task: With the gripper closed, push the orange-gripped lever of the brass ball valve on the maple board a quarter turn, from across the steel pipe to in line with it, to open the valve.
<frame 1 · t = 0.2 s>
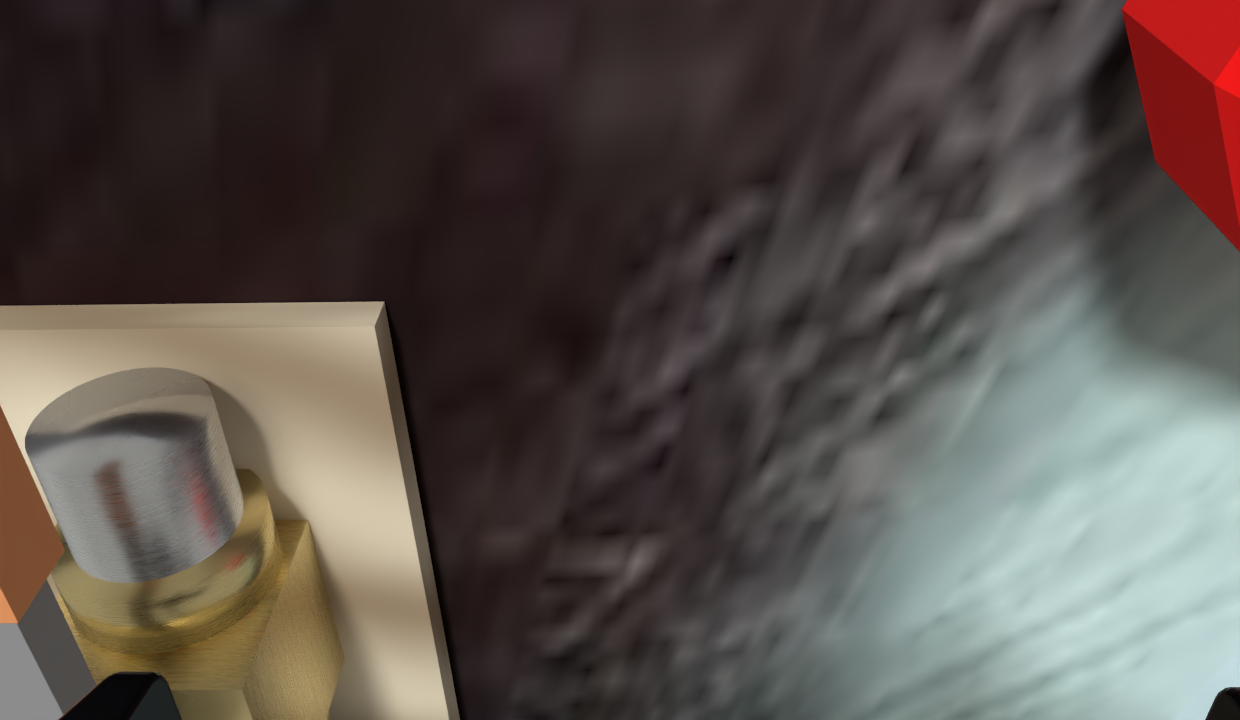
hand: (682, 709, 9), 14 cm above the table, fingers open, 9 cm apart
valve lever: (22, 663, 18), point 8 cm above the table, hinge at 0.0°
valve: (242, 564, 28), resting on valve board
valve board: (242, 564, 28), on the table
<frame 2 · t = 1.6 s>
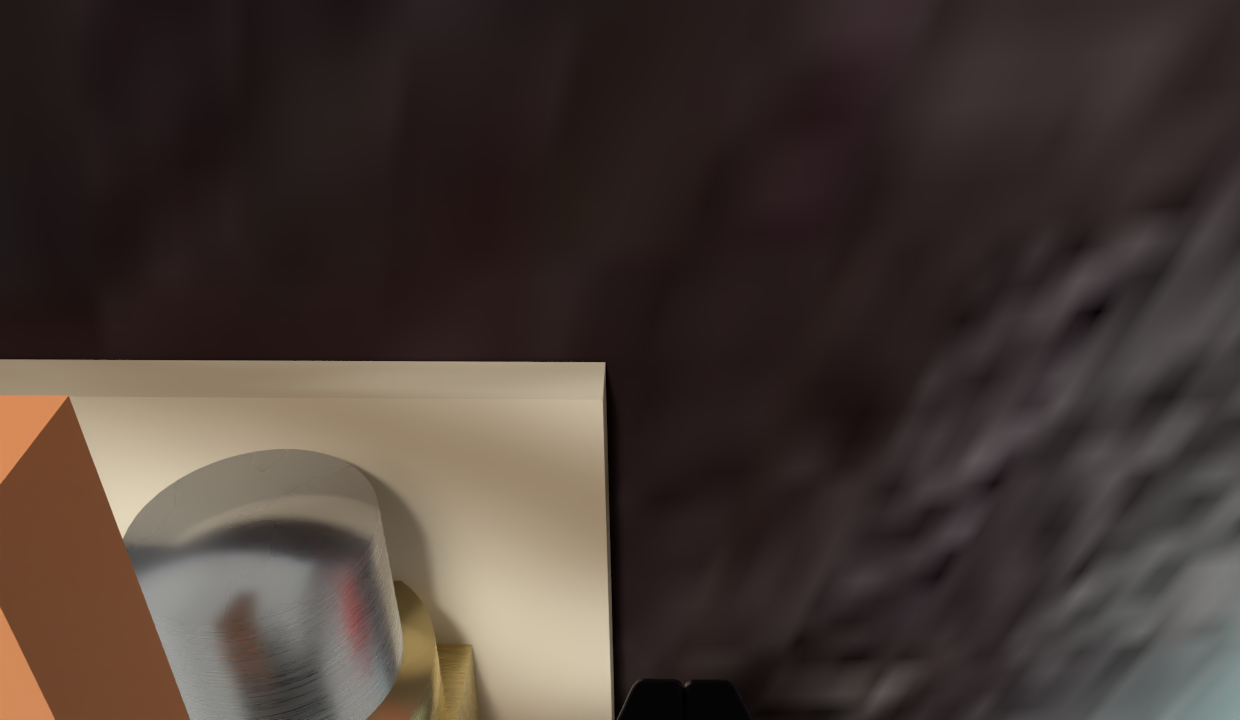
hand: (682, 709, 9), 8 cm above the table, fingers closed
valve: (366, 687, 22), resting on valve board
valve board: (366, 687, 22), on the table
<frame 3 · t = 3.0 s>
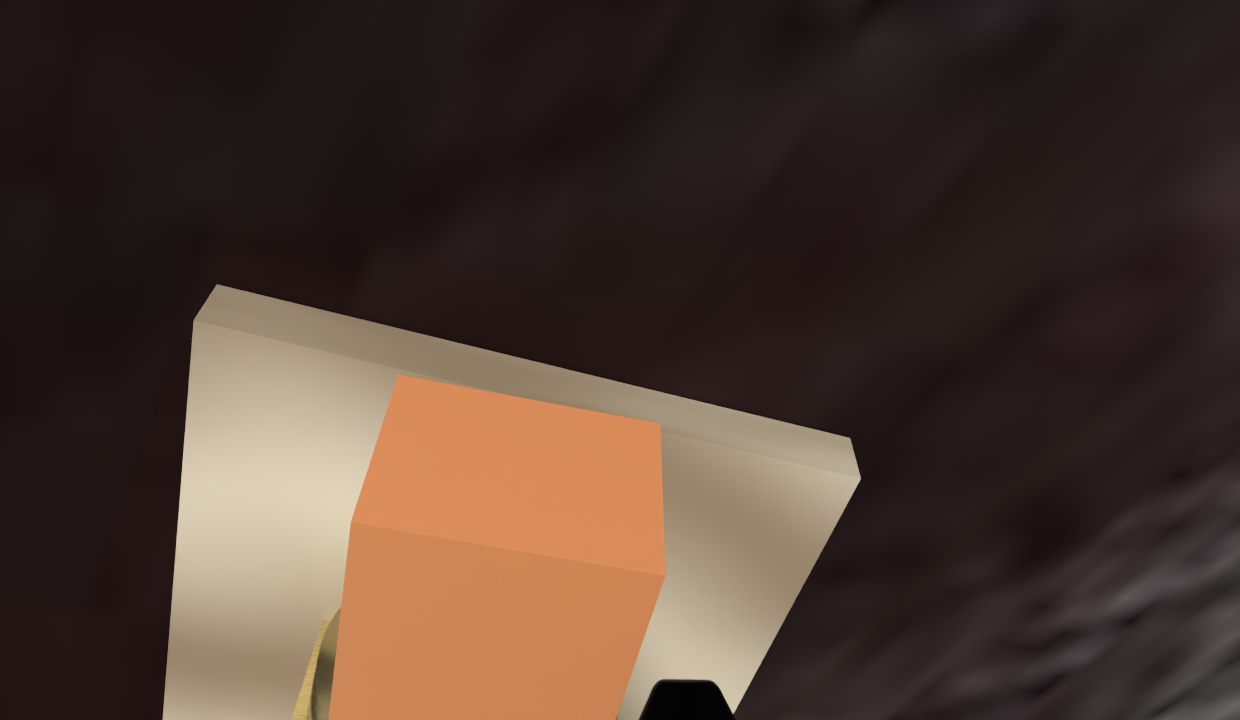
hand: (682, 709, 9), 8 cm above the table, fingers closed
valve: (447, 691, 21), resting on valve board
valve board: (447, 691, 21), on the table
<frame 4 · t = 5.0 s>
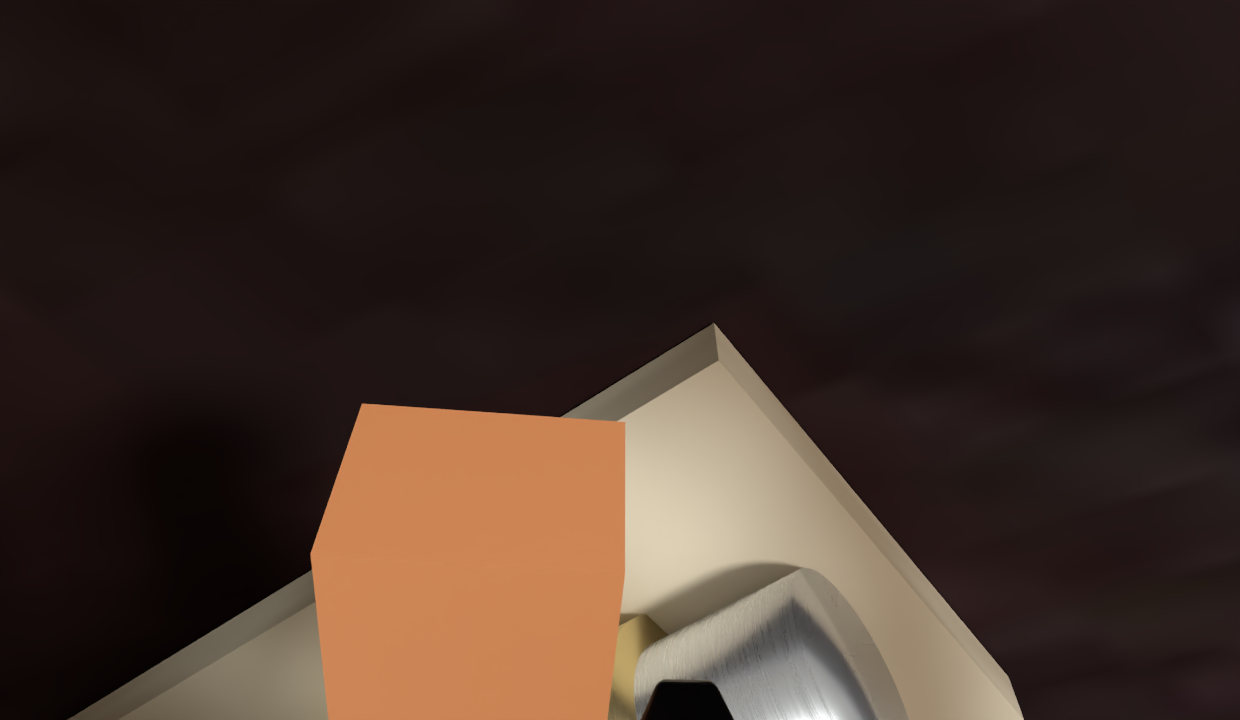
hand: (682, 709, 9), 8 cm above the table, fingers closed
valve: (520, 702, 21), resting on valve board
valve board: (520, 702, 21), on the table
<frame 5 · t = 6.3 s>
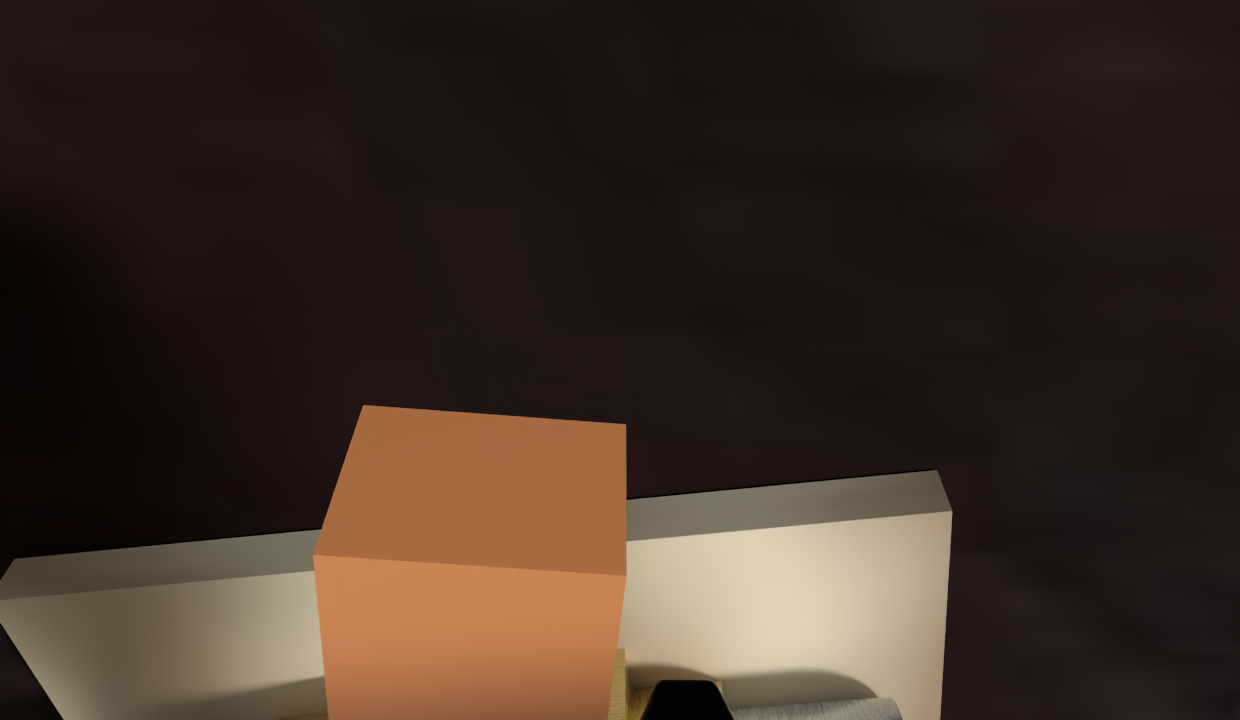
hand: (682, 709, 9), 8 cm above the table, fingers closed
valve: (514, 704, 21), resting on valve board
valve board: (514, 704, 21), on the table
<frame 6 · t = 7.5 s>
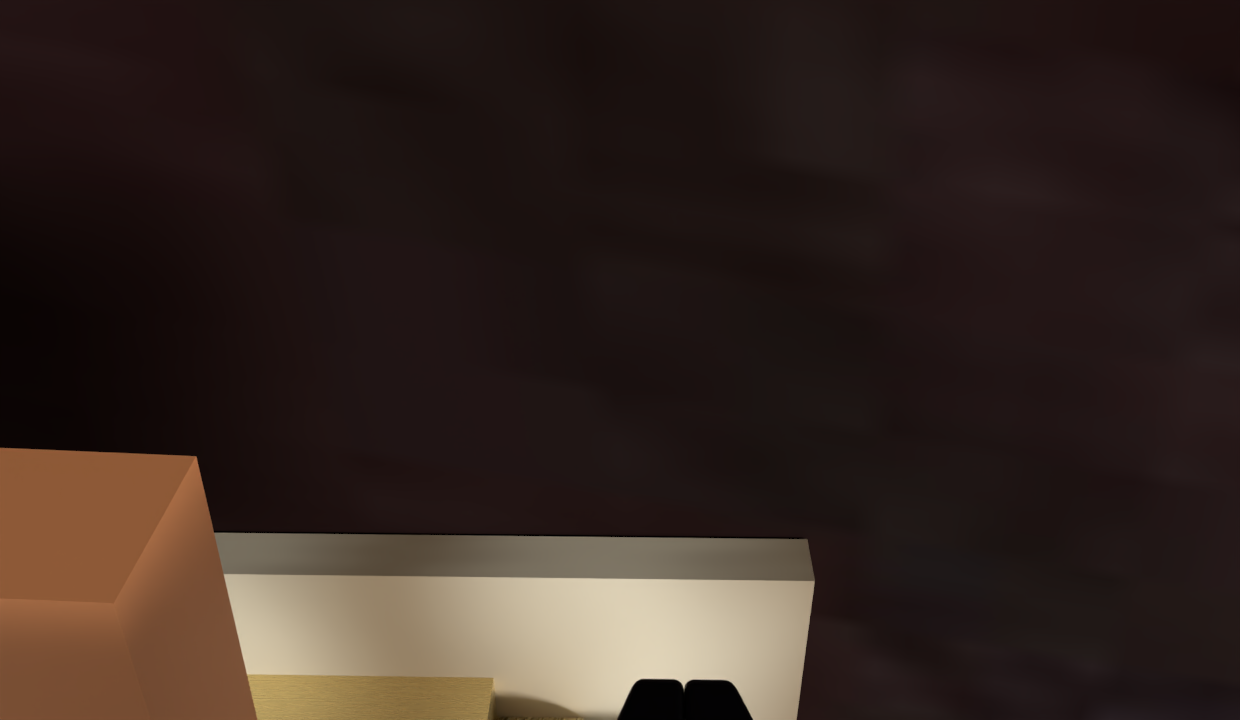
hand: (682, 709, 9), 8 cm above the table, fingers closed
valve: (384, 719, 21), resting on valve board
valve board: (384, 719, 21), on the table
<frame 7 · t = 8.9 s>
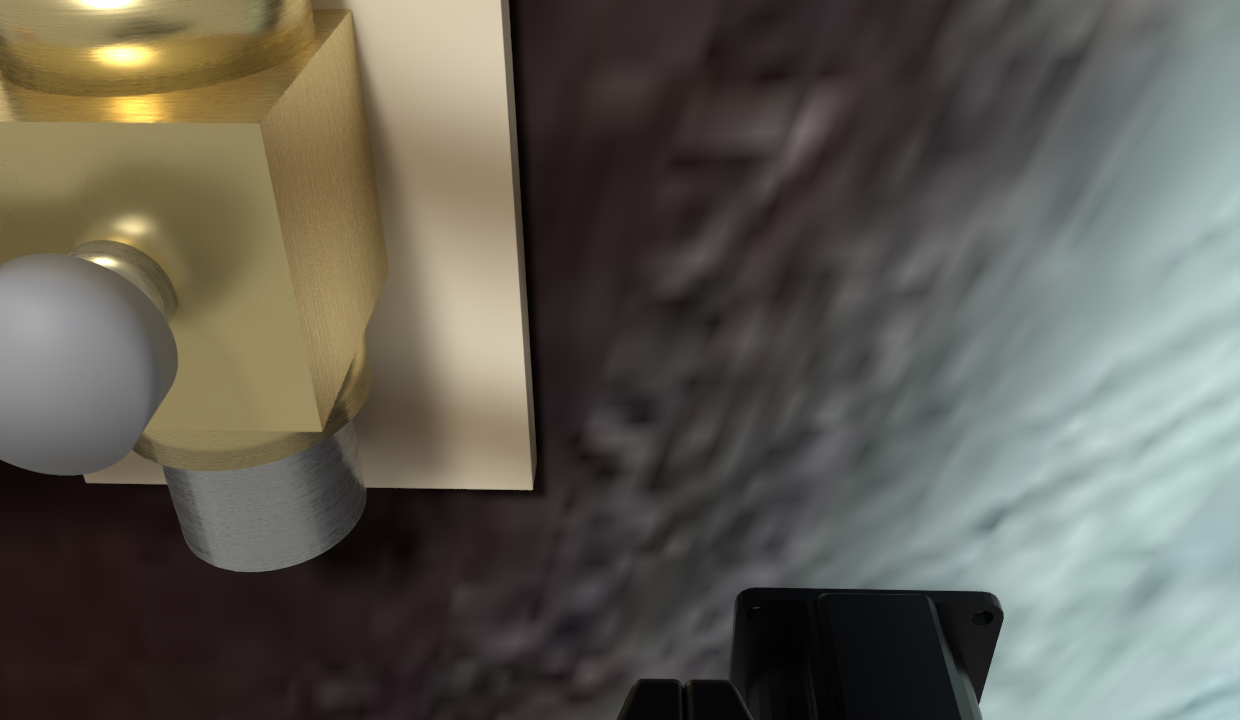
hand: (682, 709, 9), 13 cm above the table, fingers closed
valve: (251, 127, 20), resting on valve board
valve board: (251, 127, 20), on the table
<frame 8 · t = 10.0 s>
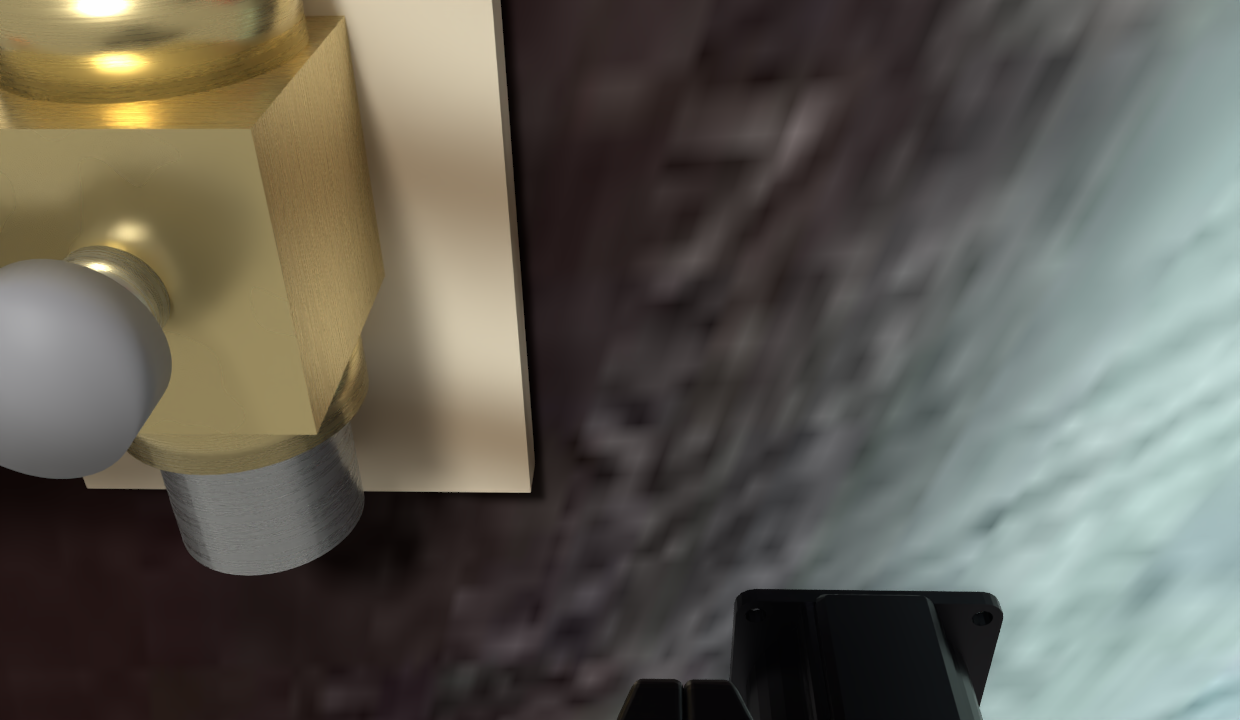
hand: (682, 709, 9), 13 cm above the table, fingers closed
valve: (247, 133, 20), resting on valve board
valve board: (247, 133, 20), on the table
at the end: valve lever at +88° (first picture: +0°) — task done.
